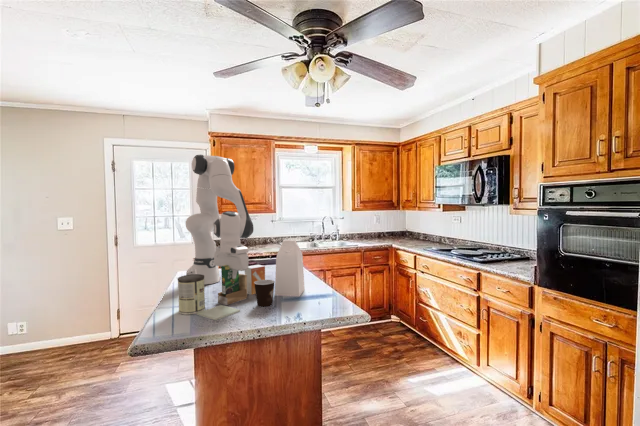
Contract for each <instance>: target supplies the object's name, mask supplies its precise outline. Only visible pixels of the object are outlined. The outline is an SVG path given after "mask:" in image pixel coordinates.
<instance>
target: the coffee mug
mask: <svg viewBox="0 0 640 426" xmlns="http://www.w3.org/2000/svg"><path fill="white" fill-rule="evenodd" d="M254 284H255V291H256V294H255V296H256V297H255V299H256V304H257V305H256V306H257V307H259V308H269V307H271V306H273V302H274V301H273V299H274V293H275V280H273V279H265V280H258V281H255V282H254Z"/></svg>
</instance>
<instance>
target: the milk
mask: <svg viewBox="0 0 640 426" xmlns="http://www.w3.org/2000/svg"><path fill="white" fill-rule="evenodd" d="M274 279H275V280H274V296H279V297H280V296H283V297H301V295H302V294H303V292H304V291H305V290H306V289H305V273H304V257H303V252H302V250H301V249H300V246H299V245H298V243H297V240H296V239H283V240H282V242H281V244H280V247H279V250H278V252H277V253H276V258H275V278H274Z"/></svg>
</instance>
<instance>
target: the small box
mask: <svg viewBox="0 0 640 426" xmlns="http://www.w3.org/2000/svg"><path fill="white" fill-rule="evenodd" d="M244 275H247V295H251V296H253V295H256V291H255V284H254V282H255V281H258V280H266V266H265V265H261V264H254V265H248V269H247V270H244Z"/></svg>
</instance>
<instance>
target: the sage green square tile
mask: <svg viewBox="0 0 640 426" xmlns="http://www.w3.org/2000/svg"><path fill="white" fill-rule="evenodd" d="M240 312H241V309H238V308H235V307H231V306H228V305H225V304H219V305H217V306H213V307H211V308H208V309H205V310H204V311H201V312H198V313H196V315H197V316H199V317H204V318H207V319H210V320H213V321H218V320H220V319H224V318H227V317H229V316H231V315H233V314H237V313H240Z"/></svg>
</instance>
